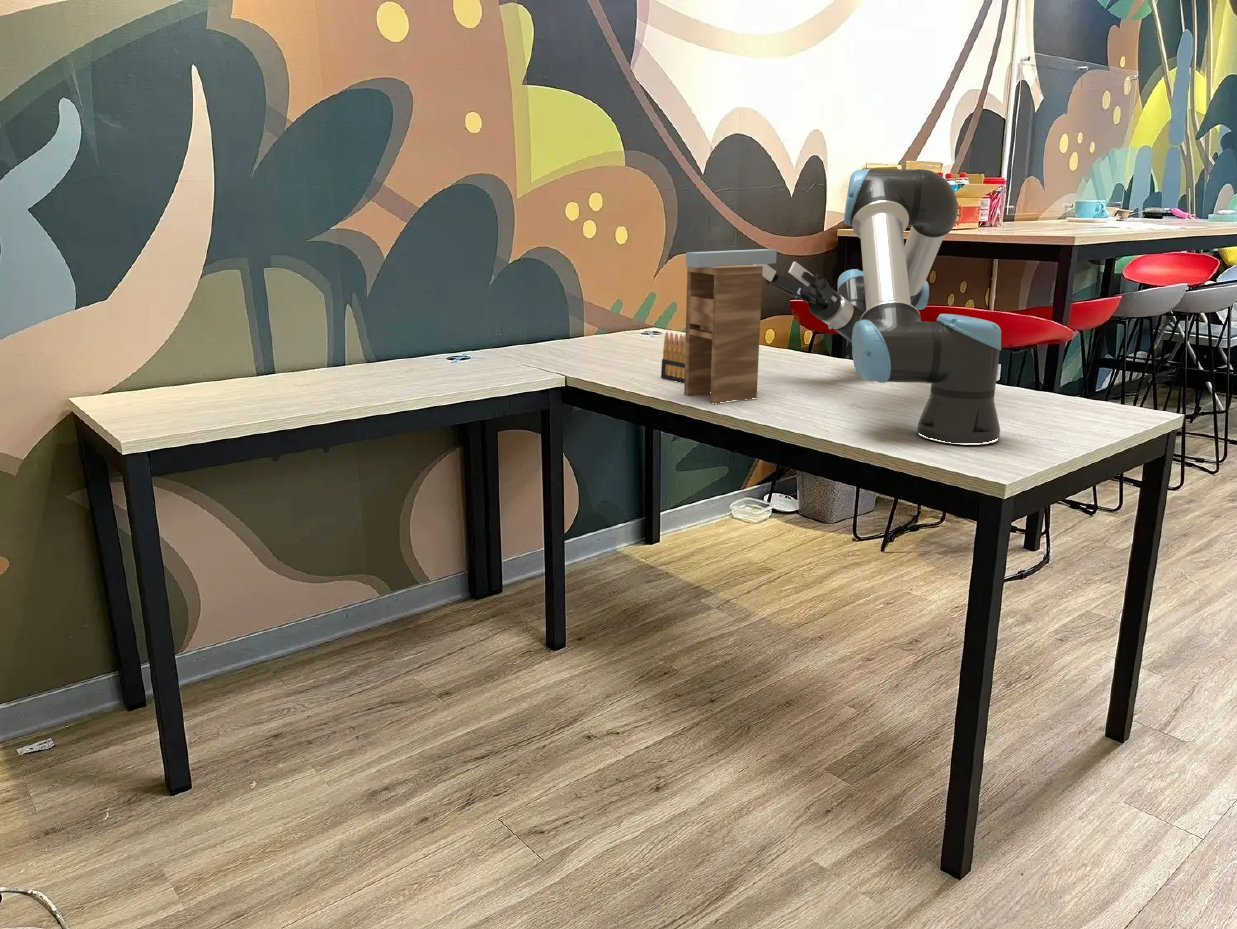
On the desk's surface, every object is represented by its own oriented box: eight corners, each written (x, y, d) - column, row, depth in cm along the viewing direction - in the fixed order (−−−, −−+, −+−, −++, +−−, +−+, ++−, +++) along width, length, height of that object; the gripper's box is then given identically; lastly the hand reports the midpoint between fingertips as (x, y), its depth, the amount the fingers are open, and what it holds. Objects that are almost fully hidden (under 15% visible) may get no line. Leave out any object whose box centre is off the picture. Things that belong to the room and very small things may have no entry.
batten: (776, 263, 215) (776, 249, 214) (697, 267, 202) (698, 253, 201) (763, 262, 218) (764, 249, 218) (685, 266, 205) (686, 252, 204)
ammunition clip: (695, 384, 231) (696, 335, 228) (689, 384, 230) (690, 336, 227) (666, 377, 239) (667, 330, 236) (660, 378, 238) (661, 331, 235)
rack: (756, 398, 215) (763, 255, 205) (714, 404, 209) (719, 256, 200) (725, 389, 225) (730, 252, 215) (684, 394, 219) (687, 253, 210)
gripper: (859, 327, 217) (801, 283, 205) (790, 315, 238) (733, 275, 226) (873, 298, 217) (816, 253, 205) (803, 289, 238) (747, 247, 226)
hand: (772, 264), depth 216 cm, fingers open, 13 cm apart
